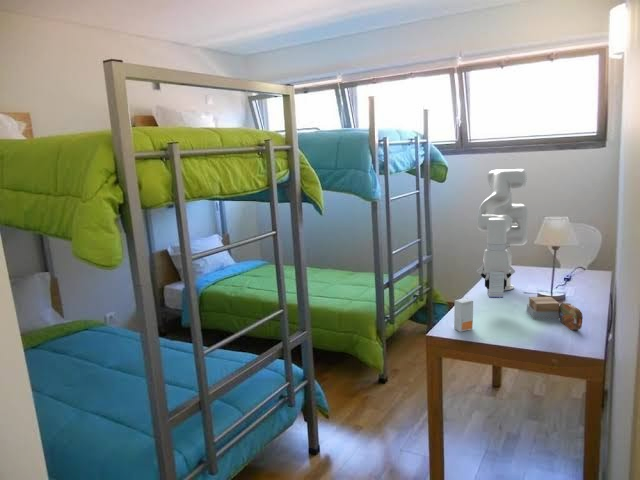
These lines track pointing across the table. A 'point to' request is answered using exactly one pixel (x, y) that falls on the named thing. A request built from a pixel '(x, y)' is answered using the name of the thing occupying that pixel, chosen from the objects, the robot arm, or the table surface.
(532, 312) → the tower base
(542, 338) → the table surface
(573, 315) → the tin
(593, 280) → the table surface
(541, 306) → the tower top
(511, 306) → the table surface
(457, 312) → the skincare box
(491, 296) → the supplement box
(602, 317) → the table surface
